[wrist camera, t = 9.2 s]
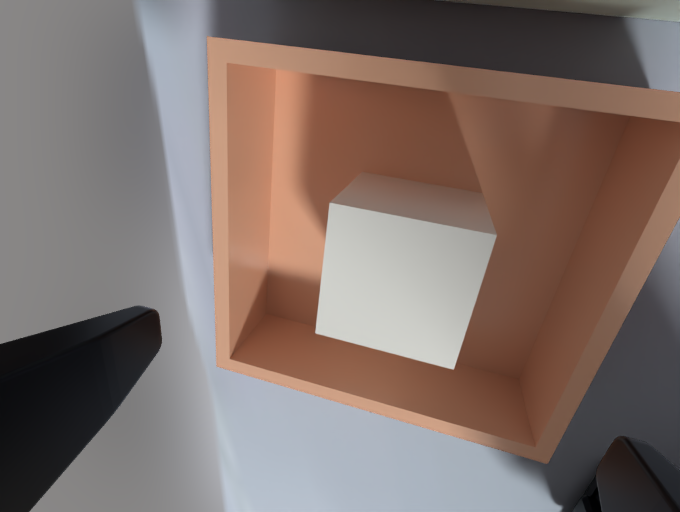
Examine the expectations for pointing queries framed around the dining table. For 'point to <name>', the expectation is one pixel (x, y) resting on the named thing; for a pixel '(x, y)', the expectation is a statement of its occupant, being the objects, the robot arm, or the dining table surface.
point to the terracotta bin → (450, 171)
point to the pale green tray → (596, 7)
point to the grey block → (403, 266)
